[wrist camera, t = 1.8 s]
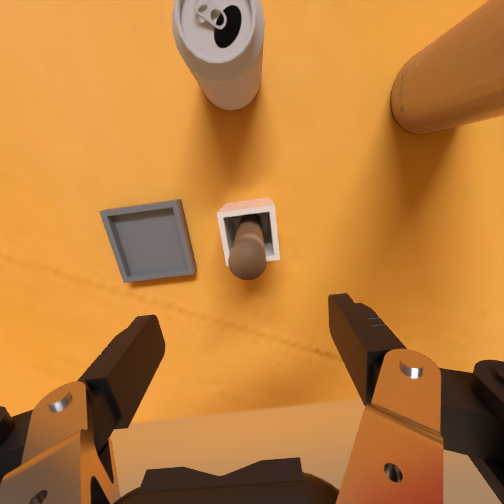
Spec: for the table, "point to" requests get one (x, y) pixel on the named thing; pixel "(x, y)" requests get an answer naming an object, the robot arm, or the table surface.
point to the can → (222, 47)
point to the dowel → (248, 249)
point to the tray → (150, 240)
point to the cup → (231, 219)
